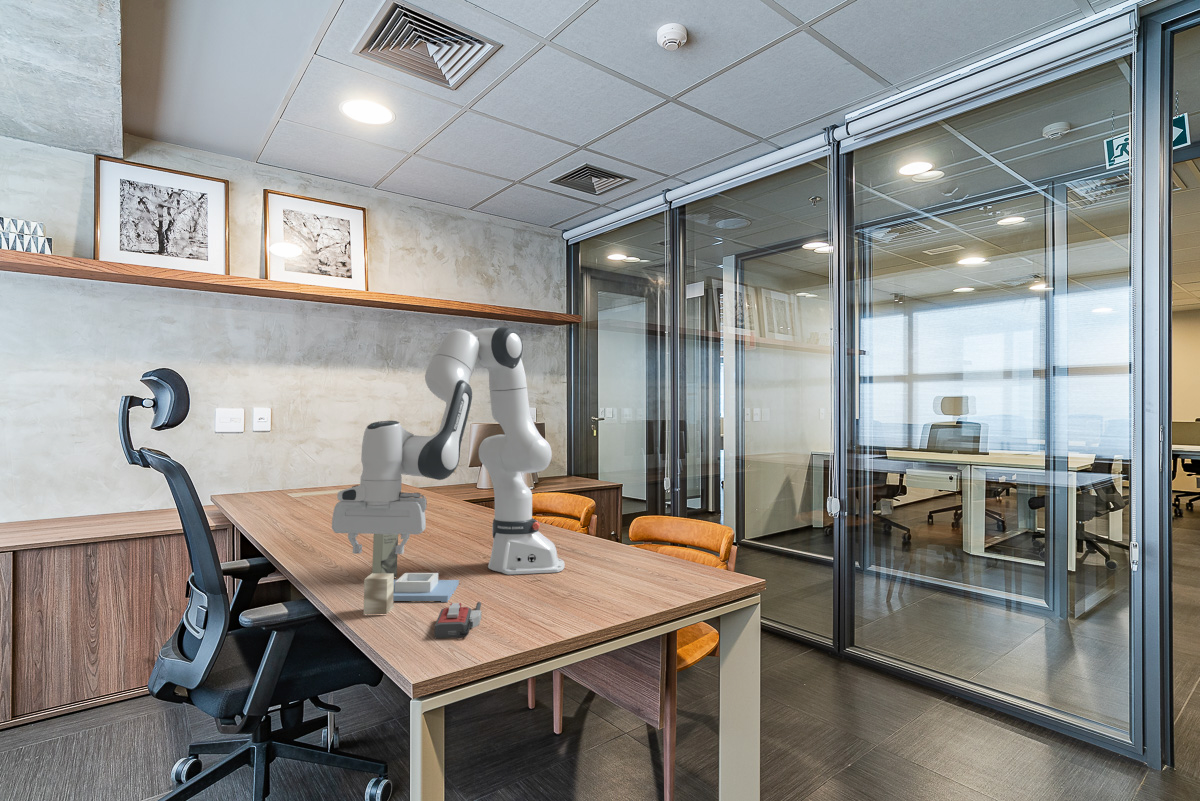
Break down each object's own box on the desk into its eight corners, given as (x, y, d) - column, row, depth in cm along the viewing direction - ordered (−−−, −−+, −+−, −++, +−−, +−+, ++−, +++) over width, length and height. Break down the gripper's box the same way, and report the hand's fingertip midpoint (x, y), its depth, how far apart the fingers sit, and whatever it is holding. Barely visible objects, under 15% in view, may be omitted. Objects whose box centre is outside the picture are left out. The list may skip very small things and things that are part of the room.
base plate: (458, 585, 158) (459, 570, 158) (447, 602, 144) (447, 585, 144) (389, 585, 157) (389, 570, 157) (371, 602, 143) (371, 585, 143)
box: (380, 582, 160) (381, 534, 160) (371, 580, 162) (372, 532, 163) (398, 578, 164) (399, 531, 164) (388, 576, 166) (389, 529, 167)
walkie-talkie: (477, 640, 120) (483, 609, 140) (477, 618, 120) (484, 590, 140) (431, 642, 119) (445, 610, 139) (432, 619, 119) (445, 591, 139)
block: (393, 608, 139) (393, 573, 139) (386, 615, 134) (387, 579, 134) (371, 608, 139) (371, 573, 139) (363, 615, 134) (364, 579, 134)
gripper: (430, 491, 141) (428, 551, 140) (341, 489, 140) (338, 549, 139) (423, 494, 134) (421, 557, 134) (330, 492, 133) (327, 555, 133)
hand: (378, 553), depth 136 cm, fingers open, 8 cm apart
